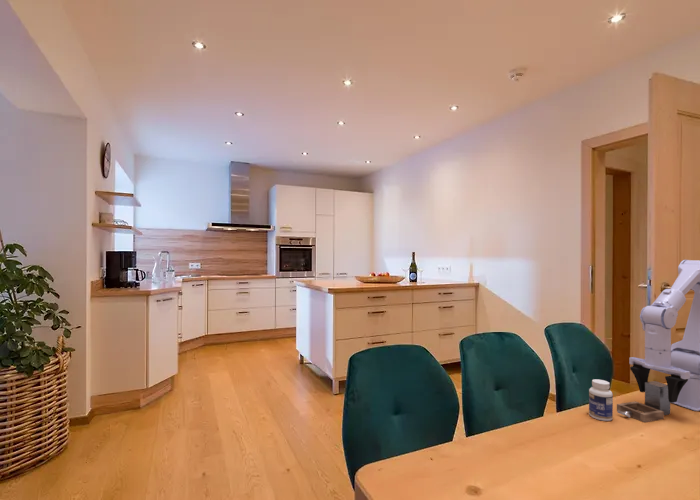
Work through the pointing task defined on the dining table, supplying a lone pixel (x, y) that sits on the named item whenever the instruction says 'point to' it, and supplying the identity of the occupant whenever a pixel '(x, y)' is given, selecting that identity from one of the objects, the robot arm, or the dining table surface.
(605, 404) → the pill bottle
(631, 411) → the walnut clamp block
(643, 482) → the dining table surface
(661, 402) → the steel post
